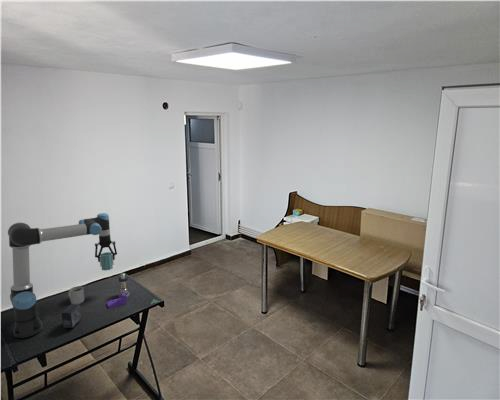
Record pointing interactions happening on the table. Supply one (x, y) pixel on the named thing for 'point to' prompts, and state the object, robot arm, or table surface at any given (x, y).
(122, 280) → the ring
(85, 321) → the table surface
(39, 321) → the robot arm
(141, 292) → the table surface
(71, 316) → the small box
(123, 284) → the pipe
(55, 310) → the table surface
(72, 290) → the mug
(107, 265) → the sleeve
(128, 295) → the plate
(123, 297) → the bracket
